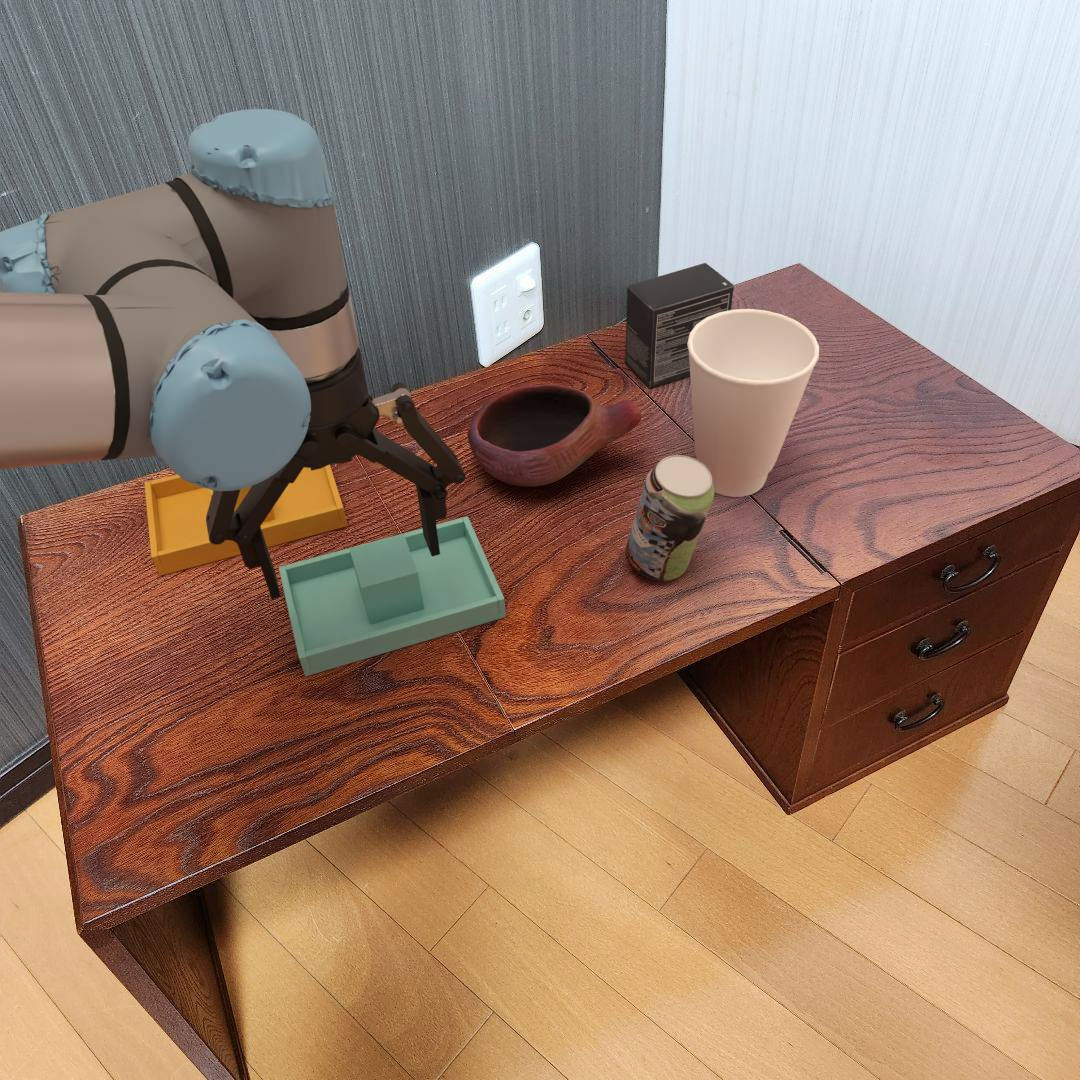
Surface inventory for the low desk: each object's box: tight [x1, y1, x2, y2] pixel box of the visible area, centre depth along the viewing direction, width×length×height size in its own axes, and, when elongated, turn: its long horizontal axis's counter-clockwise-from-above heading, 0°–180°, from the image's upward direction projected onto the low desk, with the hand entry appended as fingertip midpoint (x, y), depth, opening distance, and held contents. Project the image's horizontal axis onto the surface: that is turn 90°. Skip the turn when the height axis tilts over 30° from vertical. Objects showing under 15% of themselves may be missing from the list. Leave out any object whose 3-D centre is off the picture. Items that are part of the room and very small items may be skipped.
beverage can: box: [625, 454, 715, 582], centre depth 83 cm, size 6×7×12 cm
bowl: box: [466, 383, 642, 487], centre depth 96 cm, size 16×13×8 cm
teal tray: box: [278, 516, 507, 677], centre depth 85 cm, size 18×11×3 cm, turn 110°
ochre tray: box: [143, 464, 349, 576], centre depth 93 cm, size 18×11×3 cm, turn 110°
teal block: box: [349, 533, 424, 624], centre depth 83 cm, size 5×5×5 cm
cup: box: [687, 308, 820, 498], centre depth 90 cm, size 12×12×16 cm
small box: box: [624, 262, 735, 389], centre depth 106 cm, size 11×6×10 cm, turn 115°
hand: (354, 565), depth 79 cm, fingers open, 13 cm apart
